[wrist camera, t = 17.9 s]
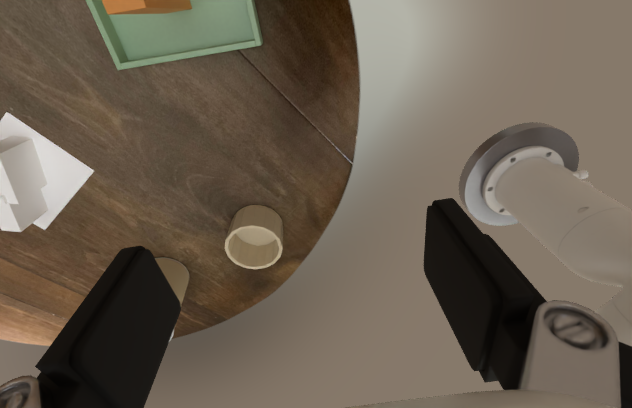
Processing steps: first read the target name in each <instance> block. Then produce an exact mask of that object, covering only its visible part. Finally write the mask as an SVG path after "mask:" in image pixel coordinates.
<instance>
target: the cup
mask: <svg viewBox="0 0 632 408" xmlns="http://www.w3.org/2000/svg"><path fill="white" fill-rule="evenodd" d="M282 247H283V222H282V219H281V218H280V216H279V215H278V214H277V213H276V212H275V211H274V210H272V209H271V208H269V207H266V206H262V205H250V206H246V207H244V208H242V209H240V210H239V211H238V212H237V213H236V214H235V215H234V217H233V219H232V221H231V224H230V227H229V231H228V234H227V237H226V241H225V250H226V253H227V255H228V257H229V258H230V259H231V260H232V261H233V262H234V263H235V264H237V265H239V266H242V267H244V268H249V269H261V268H266V267H268V266H270V265H272V264H274V263H275V262H276V261H277V260H278V259H279V258H280V256H281V252H282Z"/></svg>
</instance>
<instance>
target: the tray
mask: <svg viewBox="0 0 632 408" xmlns="http://www.w3.org/2000/svg"><path fill="white" fill-rule="evenodd" d="M86 2H87V4H88V6H89V9H90V11H91V13H92V15H93V17H94V19H95V22H96V24H97V26H98V28H99V30H100V32H101V35H102V37H103V39H104V41H105V43H106V45H107V48H108V50H109V52H110V54H111V56H112V58H113V61H114V63H115V65H116V67H117V69H118V70H122V69H128V68H133V67H139V66H145V65H151V64H157V63H162V62H168V61H174V60H180V59H186V58H191V57H197V56H203V55H209V54H215V53H220V52H226V51H232V50H238V49H244V48H250V47H255V46H261V45H262V44H263V39H262V35H261V30H260V25H259V20H258V16H257V11H256V6H255V2H254V0H190V3H191V6H192V9H189V10H183V11H177V12H172V13H166V14H113V15H108V14H107V12H106V9H105V7H104V5H103V2H102V0H86Z"/></svg>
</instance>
